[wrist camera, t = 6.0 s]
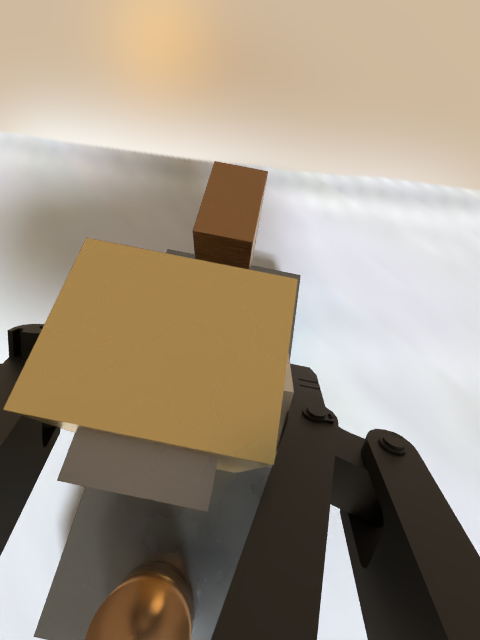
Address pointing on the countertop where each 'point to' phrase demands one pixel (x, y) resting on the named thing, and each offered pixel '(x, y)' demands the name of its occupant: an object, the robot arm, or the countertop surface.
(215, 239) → the hand plane
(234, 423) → the lever cap
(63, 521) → the countertop surface
